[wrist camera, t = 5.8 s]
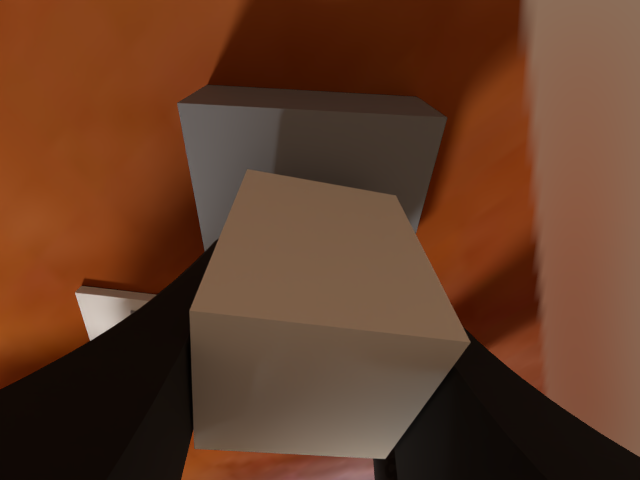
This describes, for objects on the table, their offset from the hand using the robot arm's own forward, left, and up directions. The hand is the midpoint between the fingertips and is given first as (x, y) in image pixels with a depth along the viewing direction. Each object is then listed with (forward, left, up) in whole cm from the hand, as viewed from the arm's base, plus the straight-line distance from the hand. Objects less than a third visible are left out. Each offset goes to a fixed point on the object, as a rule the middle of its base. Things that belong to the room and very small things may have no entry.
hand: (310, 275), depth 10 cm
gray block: (0, 0, -7) cm, 7 cm away
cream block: (0, 0, -2) cm, 2 cm away
